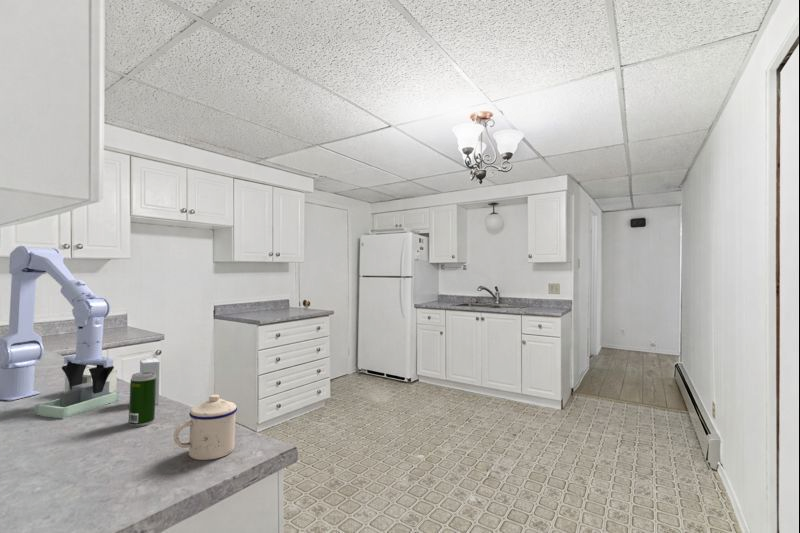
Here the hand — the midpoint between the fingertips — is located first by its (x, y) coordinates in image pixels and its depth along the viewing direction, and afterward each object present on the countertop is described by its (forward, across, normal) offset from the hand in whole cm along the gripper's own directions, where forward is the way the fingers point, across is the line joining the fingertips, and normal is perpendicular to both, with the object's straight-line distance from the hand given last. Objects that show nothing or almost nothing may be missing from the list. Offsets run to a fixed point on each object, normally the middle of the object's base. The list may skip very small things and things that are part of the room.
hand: (86, 391), depth 109 cm
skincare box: (+4, +14, +6) cm, 16 cm away
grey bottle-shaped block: (+3, 0, -1) cm, 3 cm away
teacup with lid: (+4, +51, -16) cm, 54 cm away
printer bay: (+4, -10, +10) cm, 14 cm away
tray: (+4, 0, -2) cm, 4 cm away
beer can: (+4, +25, -6) cm, 26 cm away
